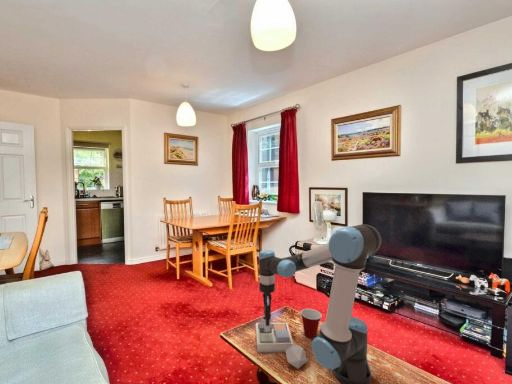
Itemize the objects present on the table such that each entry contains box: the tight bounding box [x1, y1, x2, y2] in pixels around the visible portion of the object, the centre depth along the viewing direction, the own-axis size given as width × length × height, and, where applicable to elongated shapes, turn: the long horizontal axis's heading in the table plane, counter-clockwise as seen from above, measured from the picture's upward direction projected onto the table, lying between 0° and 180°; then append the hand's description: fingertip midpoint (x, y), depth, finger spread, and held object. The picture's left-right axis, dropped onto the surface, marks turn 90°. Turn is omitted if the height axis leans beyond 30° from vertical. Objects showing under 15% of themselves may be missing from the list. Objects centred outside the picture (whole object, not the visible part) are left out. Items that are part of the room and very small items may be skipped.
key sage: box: [260, 333, 274, 343], centre depth 138 cm, size 7×6×3 cm
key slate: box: [275, 330, 289, 343], centre depth 138 cm, size 7×6×3 cm
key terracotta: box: [273, 324, 286, 334], centre depth 147 cm, size 7×6×3 cm
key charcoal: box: [258, 320, 272, 333], centre depth 147 cm, size 7×6×3 cm
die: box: [284, 342, 308, 370], centre depth 124 cm, size 8×9×10 cm
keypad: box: [255, 322, 295, 354], centre depth 143 cm, size 20×17×4 cm
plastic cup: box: [300, 308, 323, 339], centre depth 147 cm, size 11×11×12 cm
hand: (267, 330), depth 137 cm, fingers closed
